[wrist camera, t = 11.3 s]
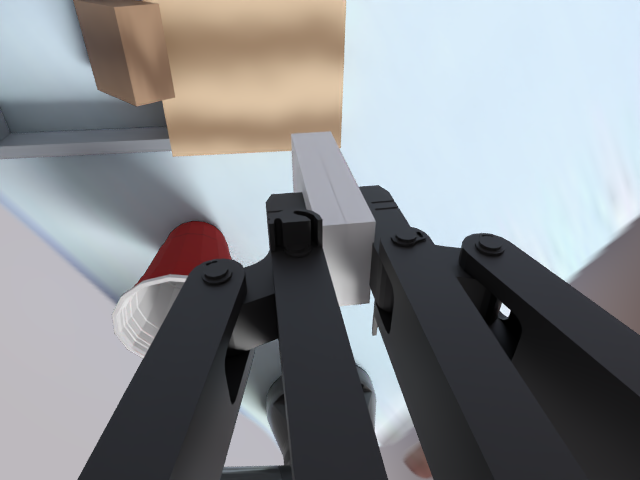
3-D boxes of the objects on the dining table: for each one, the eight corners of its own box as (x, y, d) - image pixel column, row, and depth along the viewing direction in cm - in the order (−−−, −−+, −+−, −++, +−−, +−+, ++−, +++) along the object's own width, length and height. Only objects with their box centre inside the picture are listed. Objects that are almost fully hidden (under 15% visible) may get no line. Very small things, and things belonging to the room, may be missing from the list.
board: (334, 135, 40) (340, 148, 37) (177, 143, 38) (172, 156, 35) (340, -81, 31) (349, -84, 28) (135, -86, 29) (125, -89, 26)
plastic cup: (118, 253, 43) (81, 343, 33) (180, 177, 40) (160, 253, 30) (209, 301, 48) (200, 392, 38) (271, 238, 45) (280, 319, 35)
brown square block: (175, 97, 31) (136, 106, 29) (134, 82, 35) (97, 89, 33) (158, 3, 28) (113, 7, 26) (115, -3, 31) (73, -1, 29)
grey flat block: (176, 137, 38) (171, 150, 35) (2, 145, 36) (-16, 159, 33) (136, -76, 29) (127, -78, 27) (-94, -80, 27) (-127, -83, 25)
